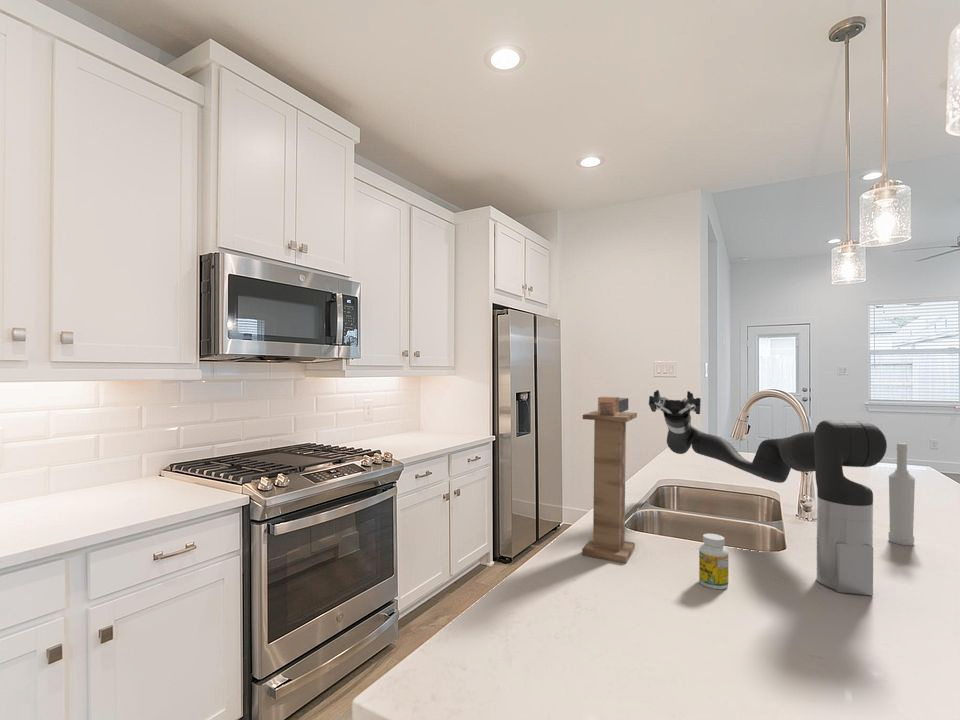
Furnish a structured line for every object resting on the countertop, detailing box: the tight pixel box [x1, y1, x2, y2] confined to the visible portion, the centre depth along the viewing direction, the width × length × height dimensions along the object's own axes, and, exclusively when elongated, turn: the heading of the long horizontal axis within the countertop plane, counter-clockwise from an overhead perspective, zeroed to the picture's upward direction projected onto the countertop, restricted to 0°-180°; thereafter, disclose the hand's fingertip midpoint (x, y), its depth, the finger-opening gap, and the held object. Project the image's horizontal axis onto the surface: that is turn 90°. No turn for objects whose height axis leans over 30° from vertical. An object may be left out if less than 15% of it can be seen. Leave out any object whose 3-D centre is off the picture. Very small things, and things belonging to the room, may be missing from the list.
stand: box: [581, 410, 638, 564], centre depth 119 cm, size 12×10×32 cm
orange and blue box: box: [597, 396, 629, 416], centre depth 124 cm, size 18×4×4 cm, turn 153°
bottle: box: [887, 442, 916, 546], centre depth 129 cm, size 5×5×25 cm
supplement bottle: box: [698, 533, 729, 590], centre depth 102 cm, size 5×5×10 cm
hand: (672, 393), depth 146 cm, fingers open, 8 cm apart
